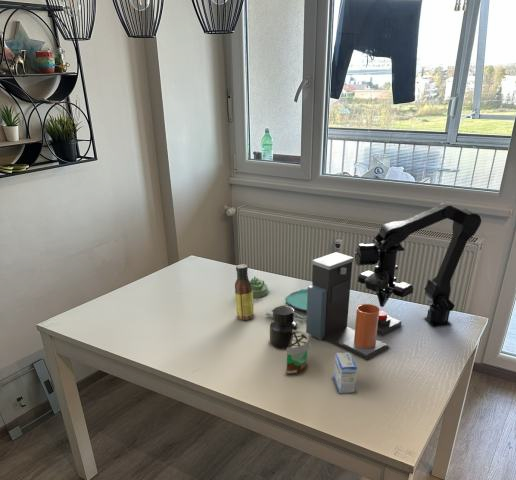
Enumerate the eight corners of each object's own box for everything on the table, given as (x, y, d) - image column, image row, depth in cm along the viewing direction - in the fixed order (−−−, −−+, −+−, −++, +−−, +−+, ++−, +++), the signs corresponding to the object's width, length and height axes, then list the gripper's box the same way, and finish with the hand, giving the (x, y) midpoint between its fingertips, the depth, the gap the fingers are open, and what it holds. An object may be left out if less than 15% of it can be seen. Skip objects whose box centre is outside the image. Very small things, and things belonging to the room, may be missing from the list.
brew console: (377, 316, 178) (378, 307, 176) (400, 325, 171) (402, 316, 169) (358, 326, 172) (359, 317, 170) (381, 336, 165) (382, 326, 163)
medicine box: (333, 378, 143) (335, 352, 139) (348, 377, 144) (350, 351, 139) (339, 393, 136) (341, 367, 132) (355, 392, 137) (357, 366, 132)
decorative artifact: (272, 292, 198) (256, 285, 205) (272, 276, 195) (255, 270, 201) (254, 299, 192) (238, 292, 199) (253, 283, 189) (237, 276, 195)
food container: (306, 379, 143) (307, 350, 138) (286, 377, 144) (286, 348, 139) (311, 358, 153) (312, 330, 148) (292, 356, 154) (292, 328, 149)
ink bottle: (291, 334, 167) (291, 302, 161) (302, 346, 160) (303, 313, 154) (264, 339, 164) (264, 307, 158) (274, 352, 157) (274, 318, 151)
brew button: (379, 314, 172) (379, 309, 171) (388, 318, 170) (389, 313, 169) (372, 317, 170) (372, 313, 169) (381, 321, 167) (382, 317, 166)
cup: (370, 337, 161) (373, 303, 155) (378, 347, 155) (383, 312, 149) (350, 339, 160) (353, 305, 154) (358, 350, 154) (362, 314, 148)
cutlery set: (348, 303, 188) (348, 297, 187) (298, 330, 170) (298, 324, 168) (307, 289, 200) (308, 284, 199) (257, 313, 182) (257, 308, 180)
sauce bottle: (256, 314, 181) (254, 263, 171) (250, 322, 176) (248, 270, 166) (239, 312, 183) (237, 262, 173) (233, 319, 178) (231, 268, 168)
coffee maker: (331, 322, 175) (336, 251, 162) (388, 347, 158) (399, 271, 145) (304, 334, 167) (307, 261, 154) (361, 362, 150) (369, 284, 137)
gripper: (349, 262, 162) (345, 304, 169) (396, 277, 149) (390, 322, 157) (370, 254, 168) (366, 295, 176) (417, 268, 155) (410, 312, 163)
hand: (382, 306), depth 168 cm, fingers closed
